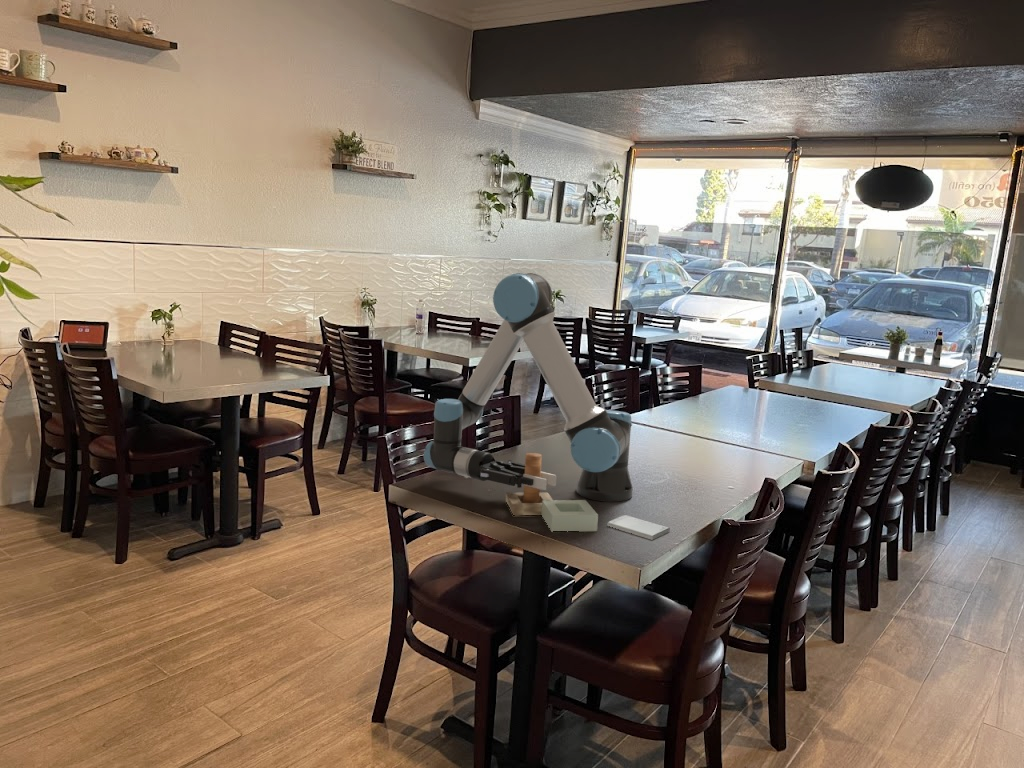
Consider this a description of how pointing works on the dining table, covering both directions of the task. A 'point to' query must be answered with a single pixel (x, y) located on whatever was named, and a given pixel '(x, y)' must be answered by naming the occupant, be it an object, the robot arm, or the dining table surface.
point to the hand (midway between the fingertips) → (550, 482)
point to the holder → (525, 504)
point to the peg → (535, 470)
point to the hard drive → (638, 527)
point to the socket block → (569, 515)
